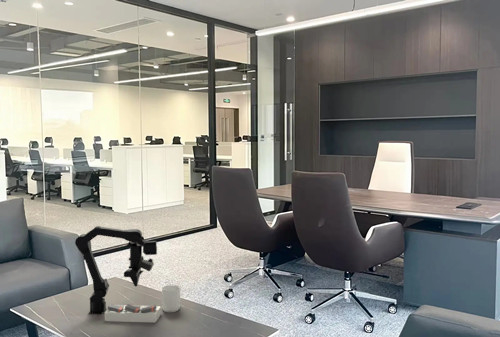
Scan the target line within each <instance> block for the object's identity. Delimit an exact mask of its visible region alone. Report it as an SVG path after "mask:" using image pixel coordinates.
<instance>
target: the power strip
mask: <svg viewBox="0 0 500 337" xmlns="http://www.w3.org/2000/svg"><path fill="white" fill-rule="evenodd" d="M116 305H117V306H120V307H124V308H123V311H122V312H115V311H111V310H108V309H106V310H105V311H104V322H123V323H124V322H127V323H157V321H158V320H159V319H160V317H161V315H162V305H161V306H159V305H156V310H155V311H152V312H147V313H141V309H142V308H145V307H149V306H150V305H134V306H135V307H138V308H140V311H139V312H138V313H133V312H130V311H127V310H124V309H125V306H126V305H127V304H126V305H125V304H124V305H123V304H116Z"/></svg>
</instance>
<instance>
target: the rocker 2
mask: <svg viewBox="0 0 500 337" xmlns="http://www.w3.org/2000/svg"><path fill="white" fill-rule="evenodd" d="M135 306H136V305H132V304H129V303H127V304H126V306H125V309H124V310H127V311H130V312H133V313H138V312H139V311H140V308H138V307H135Z"/></svg>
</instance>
